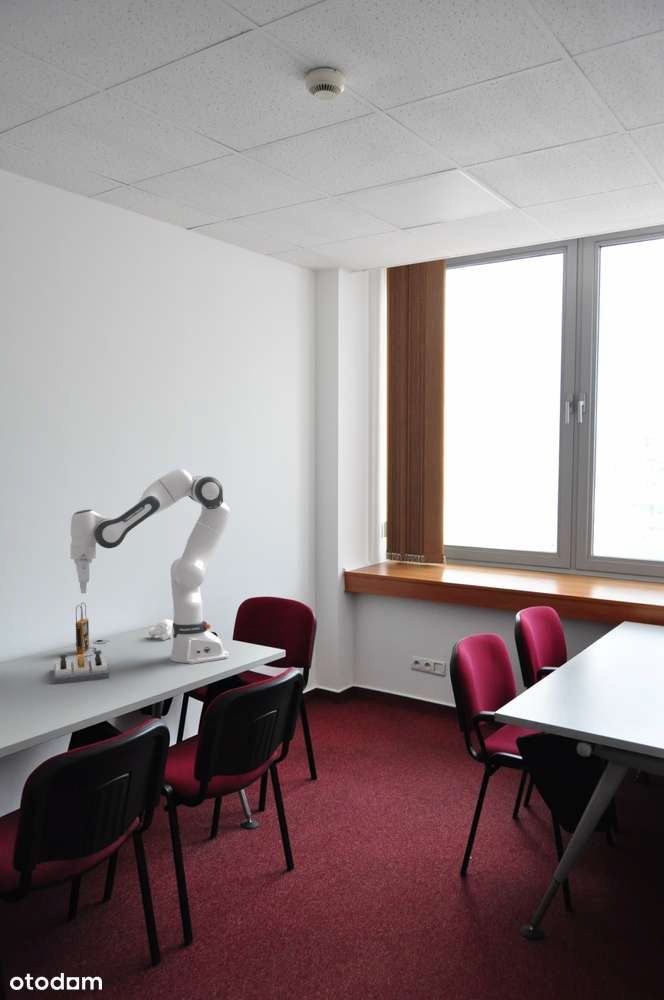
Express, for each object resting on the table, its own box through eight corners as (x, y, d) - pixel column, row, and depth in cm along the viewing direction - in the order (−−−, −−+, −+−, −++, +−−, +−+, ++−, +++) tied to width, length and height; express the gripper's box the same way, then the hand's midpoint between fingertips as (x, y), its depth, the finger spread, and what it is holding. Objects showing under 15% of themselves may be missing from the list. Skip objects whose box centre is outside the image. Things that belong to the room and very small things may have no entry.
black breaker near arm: (101, 663, 272) (101, 651, 272) (94, 664, 272) (94, 652, 271) (101, 662, 274) (100, 650, 274) (94, 663, 273) (94, 650, 273)
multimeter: (98, 657, 290) (96, 606, 289) (72, 657, 291) (71, 607, 290) (110, 647, 305) (108, 599, 304) (86, 648, 305) (84, 600, 304)
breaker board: (108, 678, 262) (108, 667, 262) (54, 684, 256) (54, 672, 255) (105, 664, 280) (105, 654, 279) (54, 669, 273) (54, 659, 273)
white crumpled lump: (166, 620, 315) (143, 621, 319) (169, 640, 315) (145, 641, 319) (175, 617, 321) (152, 618, 325) (177, 637, 321) (154, 638, 325)
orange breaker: (84, 667, 267) (84, 655, 267) (77, 668, 266) (77, 656, 266) (84, 666, 269) (84, 654, 269) (77, 667, 268) (77, 654, 268)
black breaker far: (66, 667, 268) (66, 654, 268) (59, 668, 267) (59, 655, 267) (66, 665, 270) (66, 653, 270) (59, 666, 269) (59, 654, 269)
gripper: (93, 556, 263) (93, 595, 264) (91, 550, 282) (90, 586, 283) (74, 557, 261) (74, 596, 262) (73, 550, 280) (73, 587, 281)
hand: (83, 591), depth 272 cm, fingers open, 8 cm apart
